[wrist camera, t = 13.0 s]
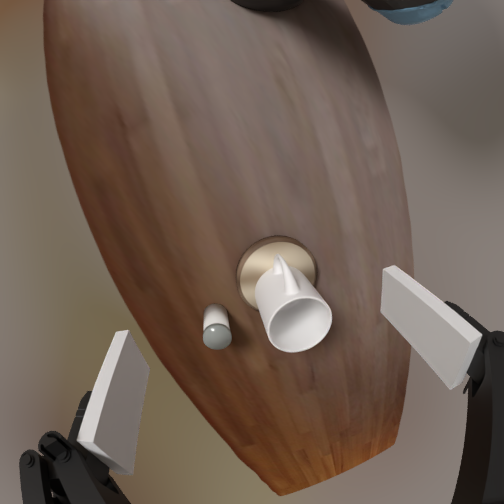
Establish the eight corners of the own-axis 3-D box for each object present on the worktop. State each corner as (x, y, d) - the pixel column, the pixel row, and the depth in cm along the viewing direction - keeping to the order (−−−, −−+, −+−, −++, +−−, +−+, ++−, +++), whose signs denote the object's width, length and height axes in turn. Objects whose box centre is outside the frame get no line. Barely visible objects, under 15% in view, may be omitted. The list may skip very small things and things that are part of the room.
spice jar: (200, 305, 44) (199, 329, 38) (225, 300, 44) (228, 324, 38) (206, 326, 46) (207, 351, 39) (230, 321, 46) (234, 346, 39)
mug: (299, 236, 41) (328, 262, 31) (308, 303, 45) (333, 341, 35) (243, 250, 40) (255, 282, 30) (259, 317, 44) (273, 359, 34)
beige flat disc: (228, 244, 41) (229, 248, 40) (310, 228, 43) (314, 232, 41) (243, 315, 46) (244, 322, 44) (315, 299, 47) (319, 304, 45)
